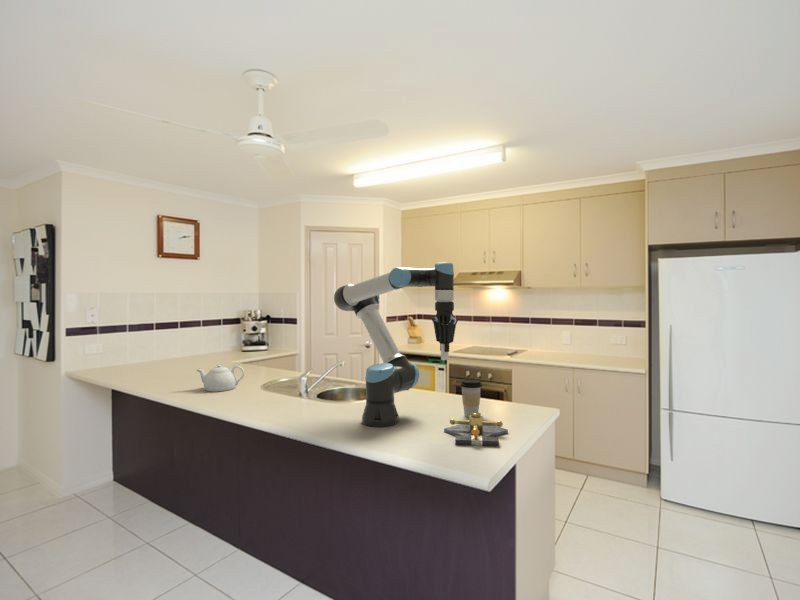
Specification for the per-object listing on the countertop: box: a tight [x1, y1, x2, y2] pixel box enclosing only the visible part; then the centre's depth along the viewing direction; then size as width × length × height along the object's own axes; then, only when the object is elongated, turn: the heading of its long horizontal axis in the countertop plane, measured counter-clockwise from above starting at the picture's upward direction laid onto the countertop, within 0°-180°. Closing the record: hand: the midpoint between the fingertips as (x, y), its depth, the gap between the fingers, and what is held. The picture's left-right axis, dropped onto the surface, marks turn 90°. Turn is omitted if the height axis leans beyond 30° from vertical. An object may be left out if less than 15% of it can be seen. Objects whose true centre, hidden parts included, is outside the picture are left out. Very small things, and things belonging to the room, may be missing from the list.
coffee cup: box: [459, 378, 483, 418], centre depth 193 cm, size 9×9×15 cm
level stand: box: [443, 424, 509, 447], centre depth 165 cm, size 25×24×2 cm
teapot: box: [196, 364, 245, 393], centre depth 249 cm, size 19×18×14 cm
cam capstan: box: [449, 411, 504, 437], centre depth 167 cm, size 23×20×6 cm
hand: (444, 359), depth 179 cm, fingers closed
